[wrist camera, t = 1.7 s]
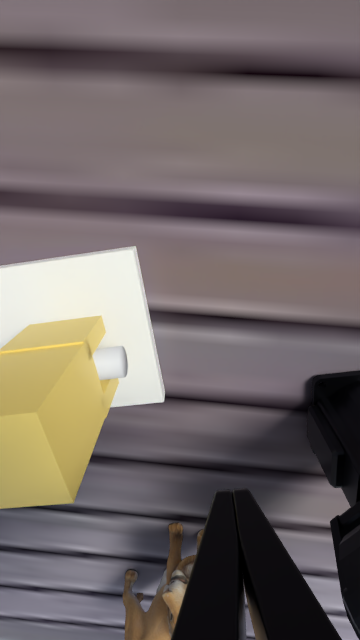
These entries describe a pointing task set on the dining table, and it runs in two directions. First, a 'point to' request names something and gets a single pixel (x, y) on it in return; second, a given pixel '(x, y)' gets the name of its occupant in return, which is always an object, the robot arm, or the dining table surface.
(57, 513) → the dining table surface
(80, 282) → the cord rail
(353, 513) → the robot arm
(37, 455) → the yellow pegged block
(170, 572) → the lion figurine
